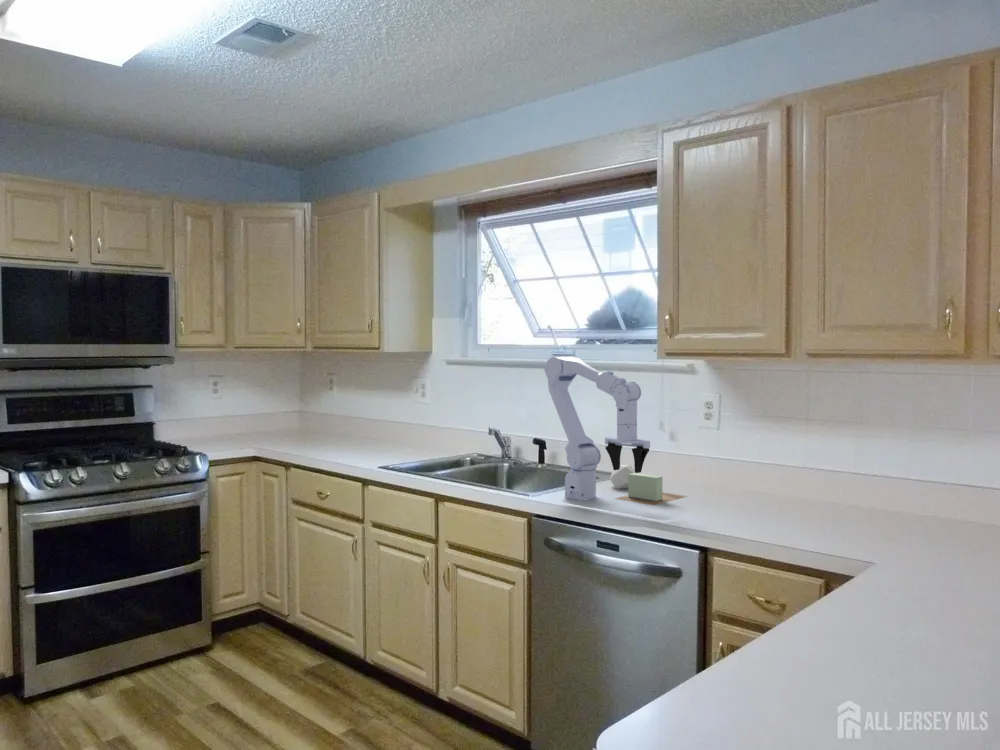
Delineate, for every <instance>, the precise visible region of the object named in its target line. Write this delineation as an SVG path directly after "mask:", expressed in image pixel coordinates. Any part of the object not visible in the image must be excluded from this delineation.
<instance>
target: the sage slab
mask: <svg viewBox="0 0 1000 750" xmlns="http://www.w3.org/2000/svg"><path fill="white" fill-rule="evenodd" d="M627 490H628V491H627V493H628V494H627V495H628V497H630V498H636V499H642V500H648V501H655V502H658V501H662V492H663V476H661V475H653V474H646V473H632V474H628V489H627Z"/></svg>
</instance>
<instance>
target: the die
mask: <svg viewBox="0 0 1000 750" xmlns="http://www.w3.org/2000/svg"><path fill="white" fill-rule="evenodd" d="M612 469H613V468H612ZM632 473H635V468H633V466H632V465H631V464H620V469H619V470H614V469H613V470H612V472H611V475H610V478H609V480H610V481H611V484H612V485H613V487H614V489H617V490H618V489H619V490H620V489H622V490H623V489H624V490H628V474H632Z"/></svg>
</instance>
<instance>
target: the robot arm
mask: <svg viewBox="0 0 1000 750" xmlns="http://www.w3.org/2000/svg"><path fill="white" fill-rule="evenodd" d="M543 371H544V372H545V375H546V377H547V385H548V391H549V393H550V397H551V399H552V402H553V405H554V408H555V410H556V412H557V414H558V418H559V420H560V422H561V425H562V428H563V430H564V433H565V435H566V438H567V440H568V442H567V444H566V446H565V447H564V450H565V451H566V452H565V453H566V461H567V465H569V467H570V471H568V472H567V473H566V475H565V477H564V496H563V498H565V499H566V498H567V499H573V500H578V501H586V500H591V499H596V498H600V497H602V495H599V494H597V468H598V464H599V463H600V462H601V460H602V454H601V450H600V449H599V448H598V447H597V446H596V444H595V442H594V440H593V439H592V438H590V437H589V436H587V435H586V433H585V430H584V428H583V425H582V423H581V420H580V418H579V415H578V412H577V410H576V407H575V405H574V402H573V400H572V397H571V395H570V392H569V390H568V389H569V386H570V385H571V383H572V382H573V381H574V379H575V378H576V377H577V376H581V377H583V378H585V379H587V380H589V381H591V382H594V383H595V384H596V388H597V389H599V390H600V391H602V392H604V393H605V394H607V395H610V396H611V397H612V398H613V400H614V401H615V407H616V437H611V436H609V437H605V438H604V444H605V445H606V446H605V450H606V453H608V455H609V458H610V462H611V465H612V469H614V470H619V469H620V465H621V454H622V449H623V446H624V447H633V448H631V451H632V454H633V460H634V461H633V462H634V471H635V473H639V474H641V473H642V470H643V466H644V462H645V459H646V458H647V455H648V453H649V451H650V448H651V441H650V440H644V439H639V438H638V401H639V399H640V398H641V395H642V390H641V387H640V385H639V384H638V383H636V381H629V382H627V379H626V378H624V377H619V376H617V375H615V374H614V372H613V371H612V370H607V371H606V370H604V371H602V372H600V371H599V370H597V369H595V368H594V367H592V366H591V365H589V364H587V363H585V362H584V361H582V359H581V358H577V357H575V356H571V355H569V356H559V357H558V356H550V357H549V359H548V360H547V361H546V363H545V366H544V369H543Z"/></svg>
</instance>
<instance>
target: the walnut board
mask: <svg viewBox="0 0 1000 750" xmlns="http://www.w3.org/2000/svg"><path fill="white" fill-rule="evenodd" d="M686 497H688V495H683V494H682V495H681V494H676V493H668V492H664V491H662V501H658V502H655V501H648V500H642V499H636V498H630V497H628V494H627V495H624V496H619V497H614V499H615V500H621V501H626V502H632V503H638V504H644V505H649V506H650V505H651V506H655V505H660V504H663V503H668V502H672V501H675V500H679V499H683V498H686Z"/></svg>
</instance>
